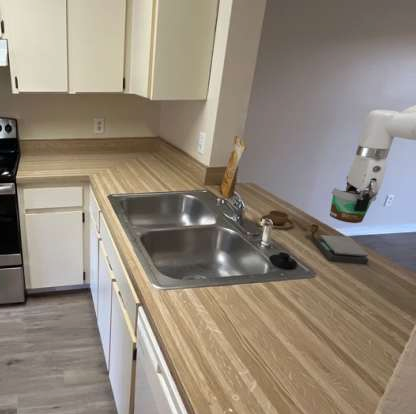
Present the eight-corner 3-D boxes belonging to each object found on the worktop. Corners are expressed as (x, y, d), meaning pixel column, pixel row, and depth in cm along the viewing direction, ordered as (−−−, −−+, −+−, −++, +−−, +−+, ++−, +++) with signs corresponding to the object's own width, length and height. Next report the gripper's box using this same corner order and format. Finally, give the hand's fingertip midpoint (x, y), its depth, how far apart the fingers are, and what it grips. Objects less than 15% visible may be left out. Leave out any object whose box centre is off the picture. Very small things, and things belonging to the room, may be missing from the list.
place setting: (291, 218, 141) (294, 205, 139) (318, 241, 123) (322, 227, 120) (249, 218, 141) (252, 205, 139) (270, 241, 123) (274, 226, 121)
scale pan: (349, 239, 118) (349, 237, 117) (368, 256, 107) (368, 254, 107) (319, 236, 119) (320, 234, 119) (335, 253, 108) (335, 251, 108)
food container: (331, 222, 108) (340, 194, 104) (324, 214, 113) (332, 187, 109) (375, 226, 105) (386, 197, 101) (365, 218, 111) (375, 190, 107)
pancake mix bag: (233, 187, 176) (242, 135, 165) (237, 200, 159) (247, 143, 148) (219, 186, 178) (227, 134, 167) (222, 199, 161) (231, 142, 150)
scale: (346, 246, 119) (348, 239, 118) (366, 266, 108) (368, 258, 107) (312, 243, 121) (314, 236, 120) (328, 262, 110) (331, 255, 108)
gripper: (404, 160, 92) (382, 219, 99) (369, 146, 107) (352, 197, 114) (374, 159, 93) (354, 217, 100) (344, 145, 109) (328, 196, 116)
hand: (353, 206), depth 107 cm, fingers closed on food container, 6 cm apart
